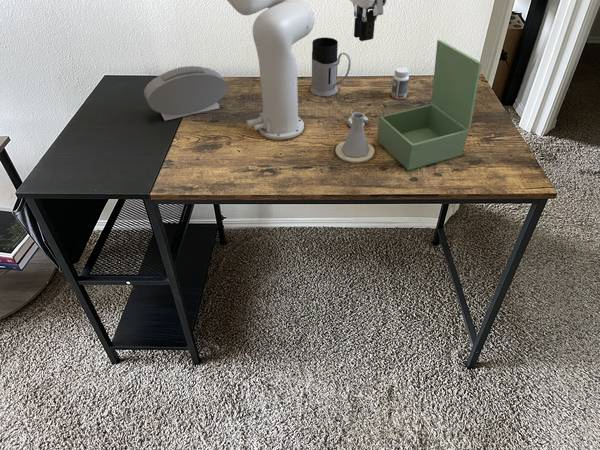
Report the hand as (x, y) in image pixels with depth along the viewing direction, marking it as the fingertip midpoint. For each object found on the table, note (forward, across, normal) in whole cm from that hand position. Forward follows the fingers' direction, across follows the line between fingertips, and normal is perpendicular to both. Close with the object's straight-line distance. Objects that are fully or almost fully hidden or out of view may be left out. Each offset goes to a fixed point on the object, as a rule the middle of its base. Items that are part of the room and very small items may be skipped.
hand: (363, 37), depth 98 cm
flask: (+29, 0, 0) cm, 29 cm away
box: (+29, +5, +16) cm, 34 cm away
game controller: (+29, -15, +7) cm, 34 cm away
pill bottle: (+29, -22, +27) cm, 46 cm away
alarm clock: (+29, -40, -34) cm, 60 cm away
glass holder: (+29, -33, +9) cm, 45 cm away
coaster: (+29, 0, 0) cm, 29 cm away
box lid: (+13, +5, +23) cm, 27 cm away
